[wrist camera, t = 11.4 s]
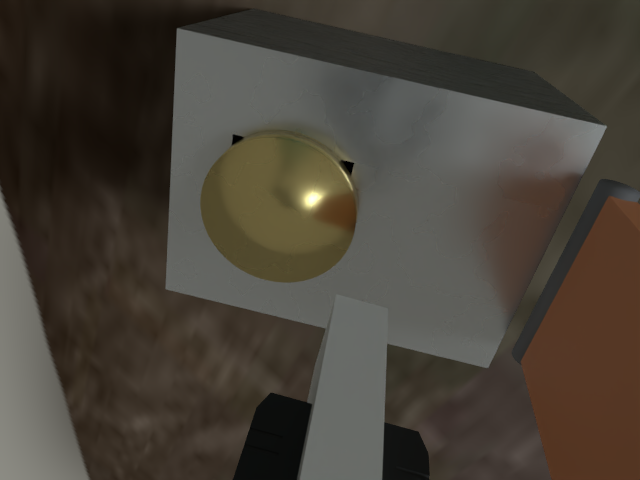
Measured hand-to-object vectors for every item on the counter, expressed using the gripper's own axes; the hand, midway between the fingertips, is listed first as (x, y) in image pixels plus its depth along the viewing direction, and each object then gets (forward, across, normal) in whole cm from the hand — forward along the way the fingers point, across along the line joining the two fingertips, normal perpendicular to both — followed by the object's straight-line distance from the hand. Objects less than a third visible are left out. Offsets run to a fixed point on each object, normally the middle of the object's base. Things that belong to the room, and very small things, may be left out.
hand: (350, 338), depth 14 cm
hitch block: (+19, -1, 0) cm, 19 cm away
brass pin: (+19, -4, 0) cm, 19 cm away
